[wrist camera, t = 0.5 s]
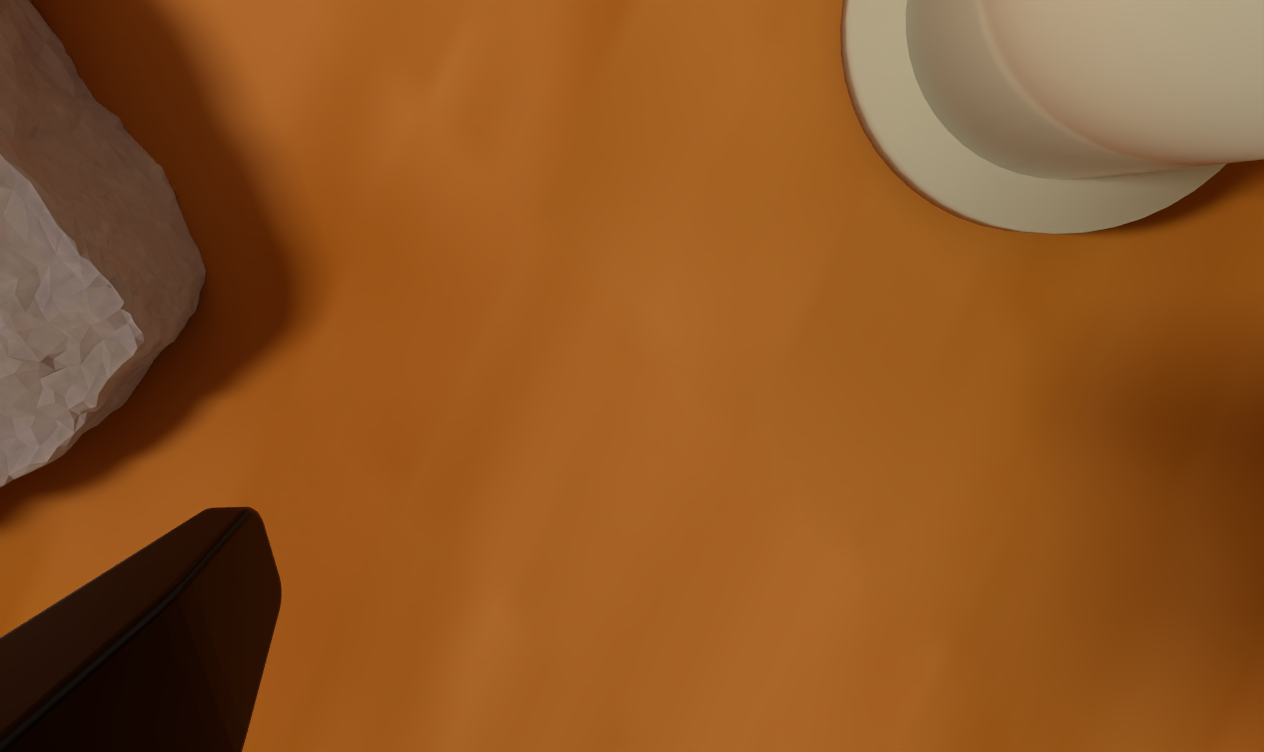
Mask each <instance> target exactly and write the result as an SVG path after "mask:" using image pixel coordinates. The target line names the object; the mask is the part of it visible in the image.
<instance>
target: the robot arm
mask: <svg viewBox="0 0 1264 752" xmlns="http://www.w3.org/2000/svg"><path fill="white" fill-rule="evenodd" d="M280 605H281V582H280V577H279V574H278V570H277V567H276V563H275V560H274V557H273V553H272V550H271V547H270V543H269V540H268V536H267V533H266V530H265V526H264V523H263V521H262V518H261V516H260V515H259V513H258V512H257V511H256V510H254V509H252V508H250V507H223V508H209V509H206V510H204V511H202V512H200V513H199V514H197V515H196V516H194V517H192V518H191V519H189V520H188V521H186V522H184V523H183V524H181V525H180V526H178V527H176V528H175V529H173V530H172V531H170V532H168V533H167V534H165V535H164V536H162V537H160V538H159V539H157V540H156V541H154V542H153V543H151V544H149V545H148V546H146V547H145V548H143V549H141V550H140V551H138V552H137V553H135V554H133V555H132V556H130V557H129V558H127V559H125V560H124V561H122V562H121V563H119V564H117V565H116V566H114V567H113V568H111V569H109V570H108V571H106V572H105V573H103V574H102V575H100V576H98V577H97V578H95V579H94V580H92V581H90V582H89V583H87V584H86V585H84V586H82V587H81V588H79V589H78V590H76V591H74V592H73V593H71V594H70V595H68V596H66V597H65V598H63V599H62V600H60V601H58V602H57V603H55V604H54V605H52V606H51V607H49V608H47V609H46V610H44V611H43V612H41V613H39V614H38V615H36V616H35V617H33V618H31V619H30V620H28V621H27V622H25V623H23V624H22V625H20V626H19V627H17V628H15V629H14V630H12V631H11V632H9V633H7V634H6V635H4V636H3V637H1V638H0V752H242V749H243V746H244V742H245V739H246V735H247V732H248V728H249V724H250V720H251V716H252V713H253V709H254V705H255V701H256V697H257V694H258V690H259V686H260V682H261V678H262V675H263V671H264V667H265V663H266V659H267V656H268V652H269V648H270V644H271V640H272V637H273V633H274V629H275V625H276V621H277V618H278V614H279V610H280Z"/></svg>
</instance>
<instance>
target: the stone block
mask: <svg viewBox="0 0 1264 752" xmlns="http://www.w3.org/2000/svg"><path fill="white" fill-rule="evenodd" d="M205 277H206V269H205V266H204V264H203V261H202V258H201V254H200V251H199V248H198V247H197V245H196V244H195V242H194V240H193V239H192V237H191V235H190V233H189V230H188V228H187V225H186V223H185V221H184V218H183V215H182V213H181V210H180V208H179V205H178V202H177V199H176V195H175V192H174V190H173V189H172V188H171V186H170V184H169V182H168V180H167V177H166V175H165V172H164V170H163V168H162V167H161V166H160V165H159V164H158V163H156V162H155V161H154V160H153V159H152V158H151V157H150V156H149V154H148V153H147V152H146V151H145V150H144V149H143V148H142V147H141V146H140V145H139V144H138V143H137V142H136V141H135V140H134V139H133V138H132V137H131V135H130V134H129V133H128V132H127V131H126V130H125V129H124V127H123V124H122V121H121V120H120V119H119V117H117V116H116V115H115V114H113V113H112V112H110V111H109V110H107V109H106V108H105V107H103V106H102V105H101V104H99V103H98V102H97V101H95V99H94V97H93V96H92V94H91V93H90V91H89V89H88V88H87V86H86V84H85V83H84V82H83V81H82V79H81V78H80V77H79V75H78V73H77V70H76V68H75V66H74V63H73V61H72V59H71V58H70V57H69V55H68V54H67V53H66V51H65V48H64V46H63V44H62V43H61V41H60V40H59V38H58V37H57V36H56V35H55V34H54V33H53V31H52V30H51V29H50V27H49V26H48V24H47V23H46V22H45V20H44V19H43V18H42V16H41V15H40V14H39V12H38V11H37V10H36V8H35V7H34V6H33V5H32V4H31V2H30V1H29V0H0V487H2V486H4V485H6V484H7V483H9V482H10V481H12V480H14V479H16V478H19V477H21V476H24V475H26V474H28V473H30V472H33V471H35V470H37V469H39V468H41V467H43V466H45V465H47V464H49V463H51V462H53V461H54V460H56V459H58V458H59V457H61V456H62V455H64V454H65V453H66V452H67V451H68V450H69V449H70V448H71V447H72V446H73V445H74V444H75V442H76V441H77V440H78V439H79V437H80V436H81V435H82V434H83V433H84V432H86V431H88V430H89V429H91V428H93V427H95V426H97V425H98V424H99V423H100V422H101V421H103V420H104V419H105V418H106V417H107V416H108V415H109V414H110V413H112V412H113V411H115V410H117V409H118V408H120V407H121V406H122V405H123V404H124V403H125V402H126V401H127V400H128V399H129V397H130V396H131V394H132V393H133V391H134V390H135V388H136V387H137V385H138V384H139V382H140V381H141V380H142V378H143V377H144V375H145V374H146V372H147V371H148V369H149V367H150V366H151V364H152V363H153V361H154V359H155V358H156V357H158V356H159V354H160V353H161V351H162V350H163V349H164V348H166V347H167V346H168V345H169V344H170V343H173V342H174V341H175V339H176V338H177V336H178V335H179V333H180V332H181V330H182V329H183V328H184V327H185V325H186V324H187V323H188V320H189V318H190V316H191V315H192V314H193V313H194V312H195V311H196V308H197V306H198V303H199V300H200V299H199V293H200V291H201V288H202V286H203V284H204V282H205Z"/></svg>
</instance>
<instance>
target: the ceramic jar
mask: <svg viewBox="0 0 1264 752" xmlns="http://www.w3.org/2000/svg"><path fill="white" fill-rule="evenodd" d="M840 31H841V57H842V64H843V70H844V76H845V82H846V85H847V89H848V92H849V96H850V99H851V102H852V106H853V108H854V111H855V113H856V115H857V117H858V120H859V122H860V124H861V126H862V129H863V131H864V132H865V134H866V136H867V137H868V139H869V140H870V142H871V144H872V145H873V147H874V149H875V150H876V152H877V153H878V154H879V156H880V157H881V158H882V159H883V161H884V162H885V163H886V164H887V165H888V167H889V168H890V169H891V170H892V171H893V173H894V174H895V175H897V176H898V177H899V178H900V179H901V180H902V181H903V182H904V183H905V184H906V185H907V186H908V187H910V188H911V189H912V190H913V191H914V192H916V193H917V194H919V195H920V196H921V197H923V198H924V199H926V200H927V201H929V202H930V203H931V204H933V205H935V206H937V207H939V208H940V209H942V210H944V211H946V212H948V213H950V214H952V215H954V216H956V217H959V218H961V219H964V220H967V221H970V222H973V223H976V224H978V225H981V226H986V227H991V228H996V229H1000V230H1005V231H1016V232H1029V233H1050V234H1064V233H1082V232H1090V231H1096V230H1101V229H1107V228H1112V227H1116V226H1120V225H1123V224H1126V223H1129V222H1132V221H1135V220H1139V219H1142V218H1144V217H1146V216H1149V215H1151V214H1153V213H1155V212H1157V211H1160V210H1162V209H1164V208H1166V207H1168V206H1170V205H1172V204H1174V203H1175V202H1177V201H1178V200H1180V199H1182V198H1183V197H1185V196H1187V195H1188V194H1190V193H1191V192H1193V191H1195V190H1196V189H1197V188H1199V187H1200V186H1201V185H1202V184H1204V183H1205V182H1206V181H1207V180H1209V179H1210V178H1211V177H1212V176H1214V175H1215V174H1216V173H1218V172H1219V171H1220V170H1221V169H1222V168H1223V167H1224V166H1225V165H1226V164H1227V163H1234V162H1244V161H1253V160H1263V159H1264V0H843V7H842V17H841V26H840Z"/></svg>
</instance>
